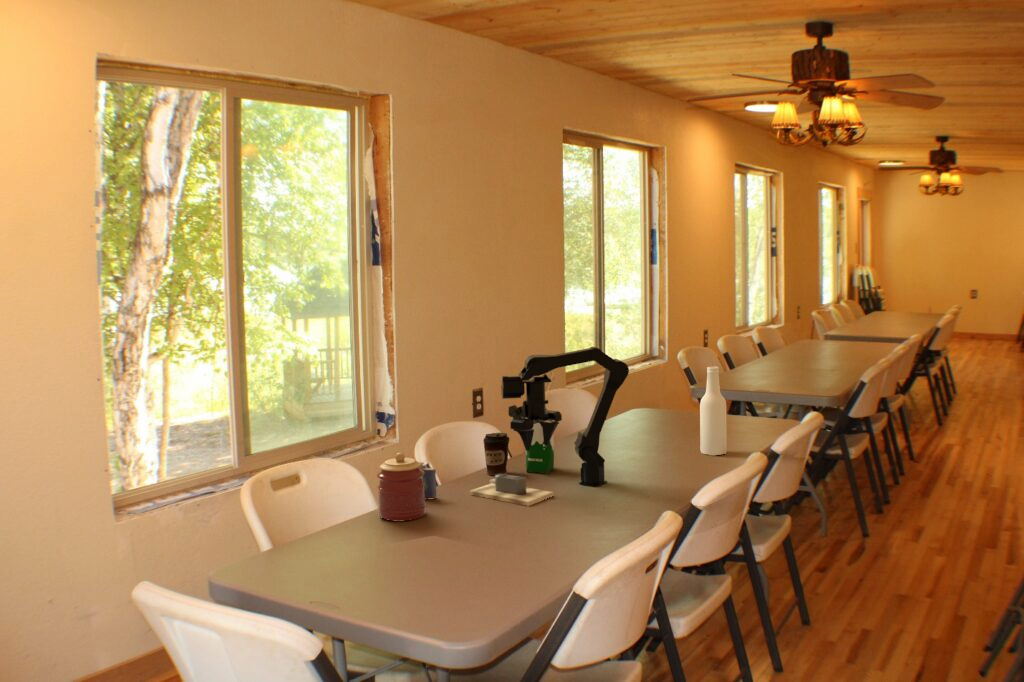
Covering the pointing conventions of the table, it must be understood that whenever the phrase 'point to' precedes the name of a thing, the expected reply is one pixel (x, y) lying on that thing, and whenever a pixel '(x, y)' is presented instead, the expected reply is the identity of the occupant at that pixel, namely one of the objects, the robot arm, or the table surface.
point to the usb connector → (510, 484)
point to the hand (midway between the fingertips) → (537, 448)
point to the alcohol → (713, 416)
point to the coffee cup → (496, 453)
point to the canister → (401, 489)
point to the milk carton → (540, 452)
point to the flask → (429, 481)
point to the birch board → (512, 495)
